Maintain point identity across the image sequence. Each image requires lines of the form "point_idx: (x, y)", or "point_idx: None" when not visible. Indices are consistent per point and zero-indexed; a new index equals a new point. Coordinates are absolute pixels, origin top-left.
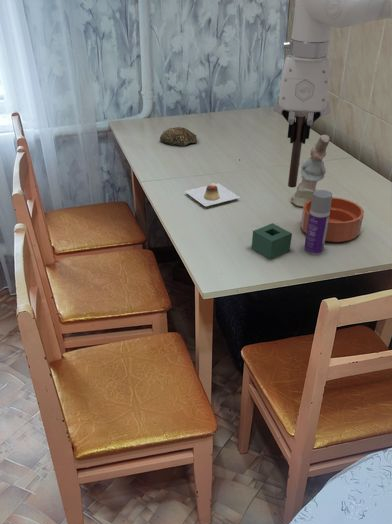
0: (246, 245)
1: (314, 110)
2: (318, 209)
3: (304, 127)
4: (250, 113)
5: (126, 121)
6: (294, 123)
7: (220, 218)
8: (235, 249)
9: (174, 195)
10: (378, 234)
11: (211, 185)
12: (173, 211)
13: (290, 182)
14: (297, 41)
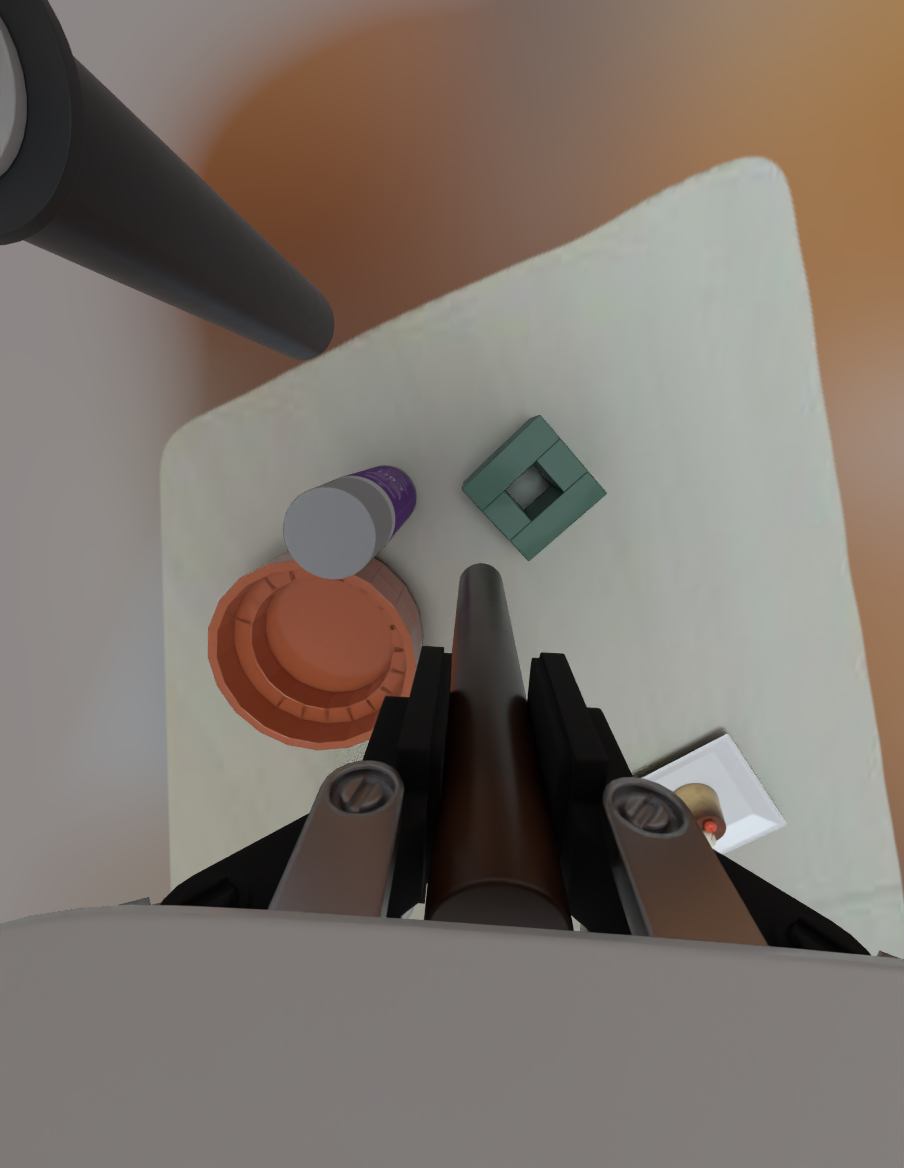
0: (603, 508)
1: (193, 917)
2: (357, 482)
3: (436, 743)
4: None
5: None
6: (575, 805)
7: (675, 677)
8: (642, 477)
9: (811, 809)
10: (189, 617)
11: (713, 834)
12: (828, 710)
13: (493, 572)
14: None
